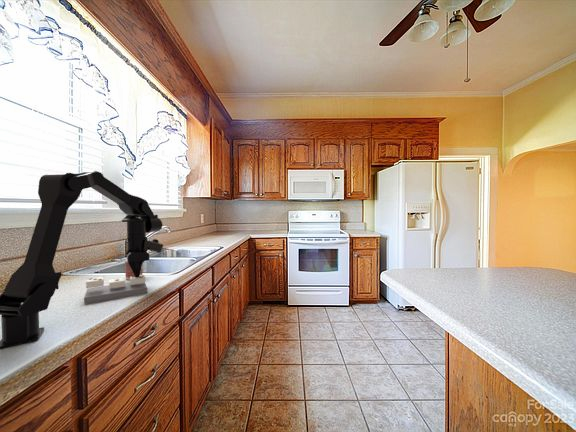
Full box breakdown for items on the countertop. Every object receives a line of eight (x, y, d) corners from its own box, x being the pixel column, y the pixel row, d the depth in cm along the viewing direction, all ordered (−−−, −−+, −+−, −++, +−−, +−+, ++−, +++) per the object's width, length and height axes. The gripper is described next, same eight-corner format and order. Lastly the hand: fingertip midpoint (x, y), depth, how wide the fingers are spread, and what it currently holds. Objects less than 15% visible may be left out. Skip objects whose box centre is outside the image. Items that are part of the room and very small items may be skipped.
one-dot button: (125, 286, 85) (125, 280, 85) (109, 288, 82) (109, 282, 82) (124, 283, 88) (124, 277, 88) (109, 285, 86) (109, 279, 86)
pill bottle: (142, 278, 104) (142, 252, 104) (125, 280, 101) (125, 254, 101) (142, 275, 109) (141, 250, 109) (125, 277, 106) (125, 251, 106)
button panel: (147, 293, 86) (147, 287, 86) (84, 304, 76) (84, 297, 76) (144, 285, 95) (144, 280, 95) (87, 294, 85) (87, 288, 85)
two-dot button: (145, 282, 88) (145, 276, 88) (130, 285, 86) (130, 278, 86) (144, 280, 92) (143, 274, 92) (130, 282, 89) (129, 276, 89)
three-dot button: (103, 285, 81) (103, 279, 81) (86, 288, 79) (86, 281, 79) (103, 282, 85) (103, 276, 85) (87, 284, 82) (87, 278, 82)
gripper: (165, 234, 85) (166, 279, 86) (157, 231, 100) (158, 268, 101) (127, 236, 79) (128, 285, 79) (125, 232, 94) (126, 273, 94)
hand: (137, 277), depth 89 cm, fingers closed, pressing on two-dot button
